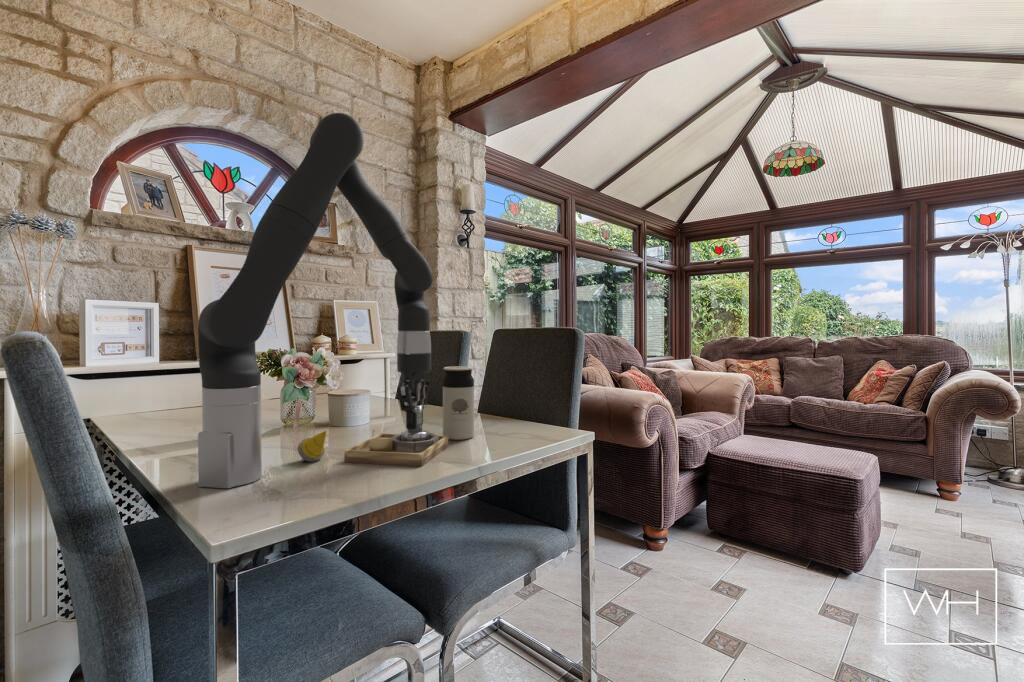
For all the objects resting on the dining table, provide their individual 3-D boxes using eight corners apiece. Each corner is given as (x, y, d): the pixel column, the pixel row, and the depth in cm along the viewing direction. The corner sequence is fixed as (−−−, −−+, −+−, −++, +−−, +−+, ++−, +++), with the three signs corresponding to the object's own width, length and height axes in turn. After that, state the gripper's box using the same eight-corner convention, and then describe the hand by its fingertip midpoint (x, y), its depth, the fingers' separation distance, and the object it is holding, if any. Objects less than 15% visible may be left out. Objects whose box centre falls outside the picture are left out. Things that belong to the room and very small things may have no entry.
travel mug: (445, 433, 127) (445, 366, 127) (475, 433, 127) (475, 366, 127) (440, 440, 119) (440, 368, 119) (471, 440, 119) (471, 368, 119)
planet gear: (422, 442, 105) (422, 408, 105) (397, 441, 106) (397, 407, 106) (431, 436, 111) (431, 403, 111) (408, 435, 112) (407, 403, 112)
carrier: (422, 466, 97) (422, 448, 97) (344, 462, 100) (344, 444, 100) (448, 446, 113) (448, 431, 113) (381, 443, 116) (381, 428, 116)
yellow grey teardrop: (320, 457, 105) (342, 430, 101) (309, 474, 100) (331, 446, 96) (299, 444, 104) (320, 415, 100) (286, 460, 99) (308, 431, 95)
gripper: (410, 349, 116) (411, 420, 116) (384, 352, 102) (385, 433, 102) (440, 349, 114) (440, 421, 115) (418, 352, 101) (419, 434, 101)
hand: (414, 426), depth 109 cm, fingers closed on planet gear, 3 cm apart
